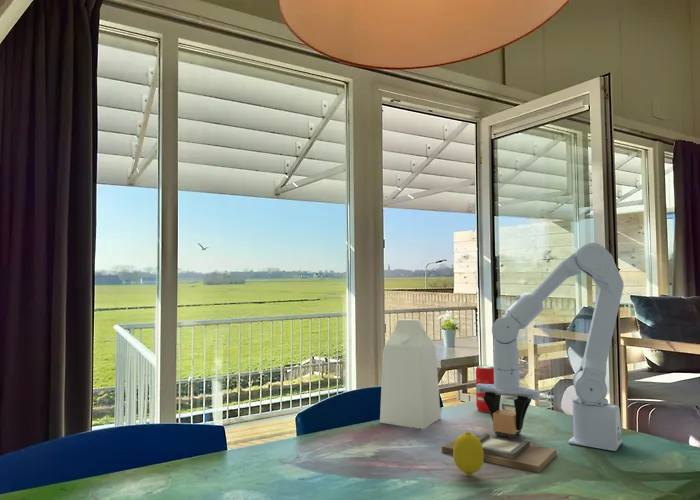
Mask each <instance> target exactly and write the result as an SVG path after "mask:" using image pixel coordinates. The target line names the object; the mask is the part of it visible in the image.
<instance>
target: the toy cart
mask: <svg viewBox="0 0 700 500" xmlns="http://www.w3.org/2000/svg"><path fill="white" fill-rule="evenodd" d="M506 407H509V408H506ZM510 408H514V409H510ZM492 427H493V428H492V430H493V432H494V433H495V435H496V436H497V437H502V434H503V433H504V434H507V436H508V438H510V439H513V438H515V437H516V435H519V434H521V433H522V429H521V430H517V429H516V411H515V405H514V403H507V402H501V408H499V410H498V411H496V412H494V413H493V420H492Z"/></svg>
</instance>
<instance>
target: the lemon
mask: <svg viewBox="0 0 700 500" xmlns="http://www.w3.org/2000/svg"><path fill="white" fill-rule="evenodd" d="M464 433H465V434H464ZM464 433H462V434H460V435H459V436H458V438H457V437H456V438H457V439H456V438H455V439H456V441H455V444H454V448H453V454H452V456H453V462H454V463H455V466H456V467H457V468H458V470H460V471H461V472H463V473H465V475H466V476H467V477H470V476H472V475H473V474H475V473H478V471H480V469H481V468H482V466H483V463H484V461H483V460H484V452H483V448H482V444H481V442H480V440H479V439H478V438H477V437H476V436H475V435H476V434H475V435H473V434H474V433H471V432H470V431H466V432H464Z"/></svg>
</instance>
